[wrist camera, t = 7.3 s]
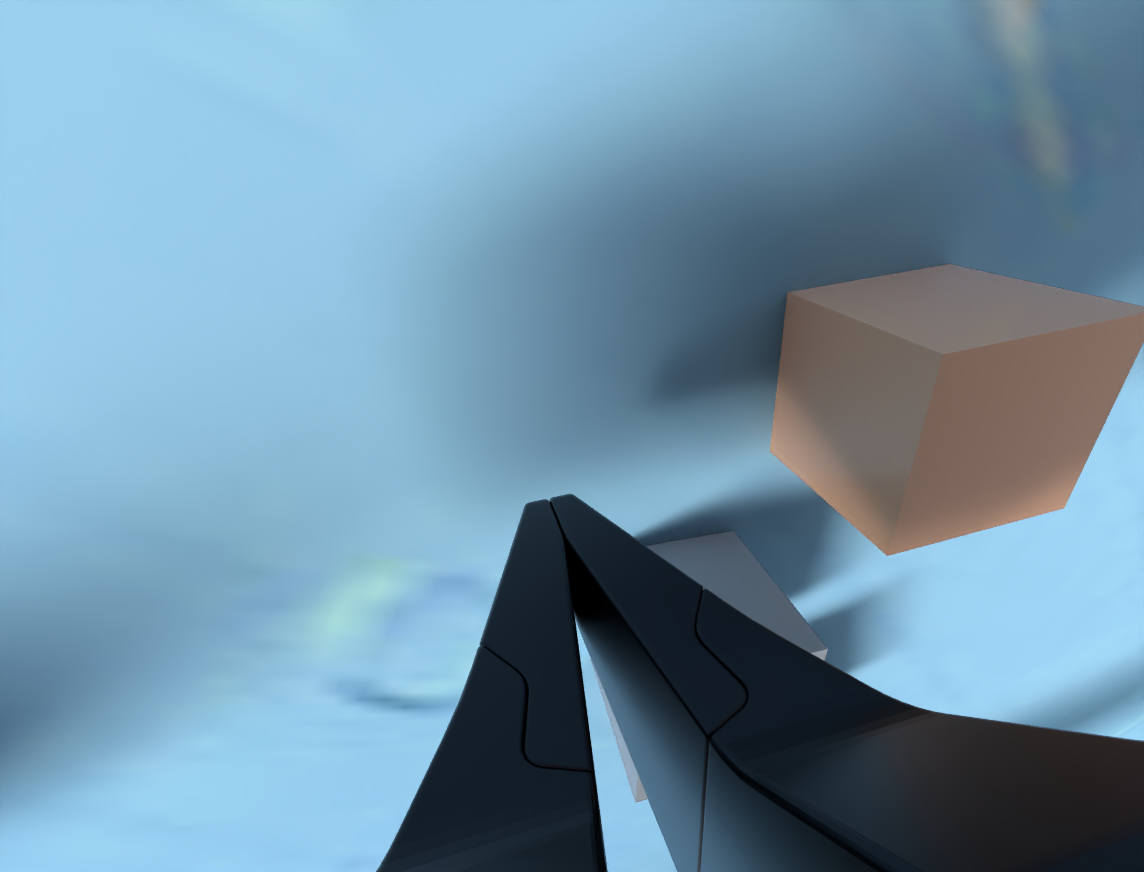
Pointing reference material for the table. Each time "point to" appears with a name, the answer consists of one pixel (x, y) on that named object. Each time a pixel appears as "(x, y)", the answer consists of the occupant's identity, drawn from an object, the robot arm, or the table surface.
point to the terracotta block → (946, 397)
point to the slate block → (740, 584)
